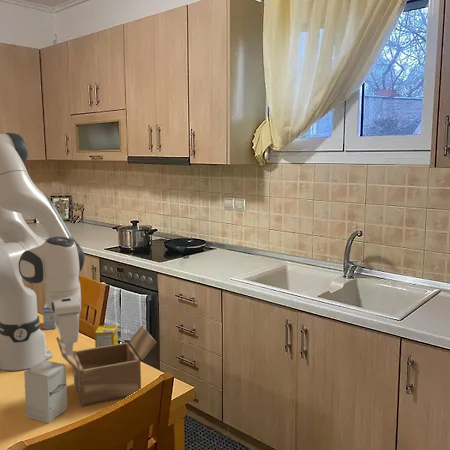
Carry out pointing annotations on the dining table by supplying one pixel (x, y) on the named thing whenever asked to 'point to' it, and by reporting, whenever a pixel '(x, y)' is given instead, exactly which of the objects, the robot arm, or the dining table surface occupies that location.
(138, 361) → the carton
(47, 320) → the medicine box
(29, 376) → the supplement box
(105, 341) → the supplement box
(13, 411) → the dining table surface
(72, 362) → the flap
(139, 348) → the flap
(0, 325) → the robot arm
